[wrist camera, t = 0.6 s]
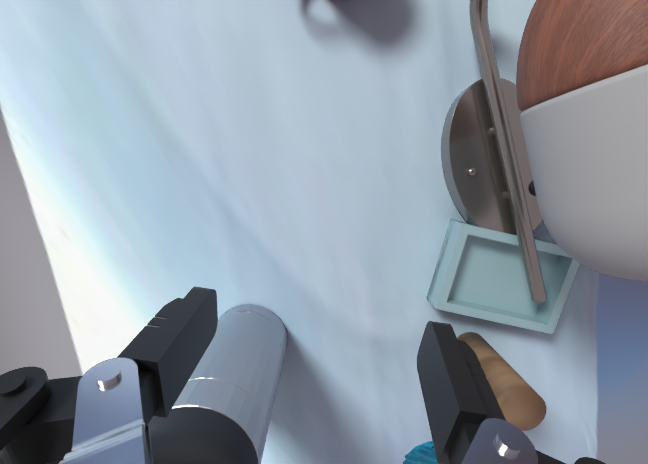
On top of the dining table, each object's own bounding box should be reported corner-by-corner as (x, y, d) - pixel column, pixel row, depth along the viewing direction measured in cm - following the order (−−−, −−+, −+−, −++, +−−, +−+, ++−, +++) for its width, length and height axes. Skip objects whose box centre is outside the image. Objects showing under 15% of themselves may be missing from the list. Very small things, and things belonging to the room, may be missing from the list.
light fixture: (681, 448, 16) (551, -333, 12) (474, 302, 38) (401, 5, 33) (889, 390, 16) (834, -428, 12) (562, 276, 37) (500, -26, 33)
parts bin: (535, 322, 39) (552, 334, 36) (426, 298, 38) (435, 308, 35) (564, 245, 37) (584, 251, 34) (450, 219, 36) (461, 223, 34)
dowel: (479, 364, 40) (537, 434, 29) (449, 357, 40) (496, 426, 29) (489, 335, 39) (552, 396, 28) (458, 329, 39) (510, 388, 28)
